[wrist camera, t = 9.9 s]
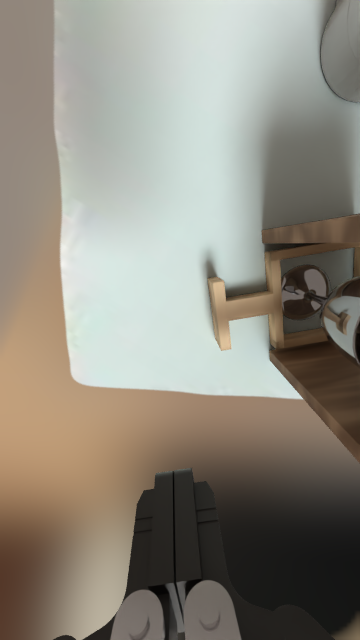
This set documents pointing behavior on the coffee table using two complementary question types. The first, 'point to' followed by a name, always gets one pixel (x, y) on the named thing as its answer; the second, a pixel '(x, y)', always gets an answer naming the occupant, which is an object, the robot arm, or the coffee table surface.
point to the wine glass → (325, 306)
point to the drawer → (269, 299)
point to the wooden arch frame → (323, 345)
